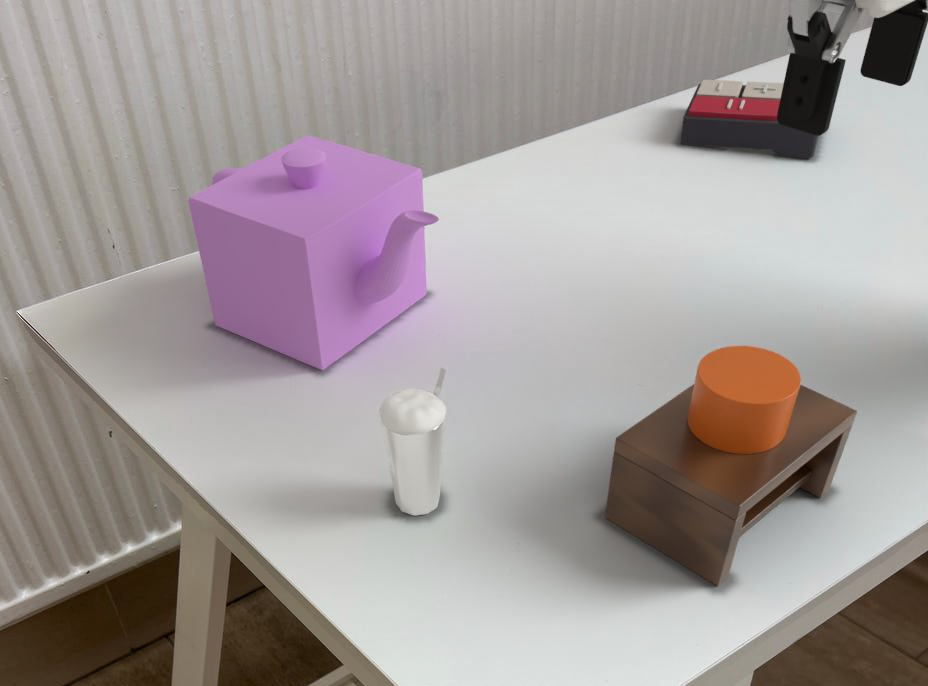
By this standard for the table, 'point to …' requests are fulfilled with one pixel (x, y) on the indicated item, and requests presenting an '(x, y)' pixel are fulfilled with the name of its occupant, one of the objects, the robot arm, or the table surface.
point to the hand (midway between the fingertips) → (843, 103)
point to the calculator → (742, 119)
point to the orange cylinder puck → (743, 399)
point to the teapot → (312, 247)
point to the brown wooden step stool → (717, 479)
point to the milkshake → (415, 446)
